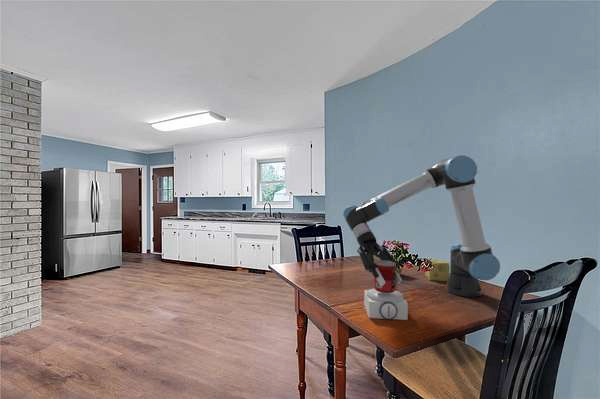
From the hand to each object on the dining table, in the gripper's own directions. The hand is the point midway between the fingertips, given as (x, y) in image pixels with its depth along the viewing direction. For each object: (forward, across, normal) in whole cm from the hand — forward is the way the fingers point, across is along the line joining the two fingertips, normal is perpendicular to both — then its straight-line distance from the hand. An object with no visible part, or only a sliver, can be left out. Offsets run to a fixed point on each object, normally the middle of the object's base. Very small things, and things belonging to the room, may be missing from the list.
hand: (391, 283), depth 113 cm
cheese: (-11, -62, -28) cm, 69 cm away
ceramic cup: (-22, -49, -39) cm, 66 cm away
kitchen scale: (+6, 0, -11) cm, 13 cm away
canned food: (0, 0, -5) cm, 5 cm away
